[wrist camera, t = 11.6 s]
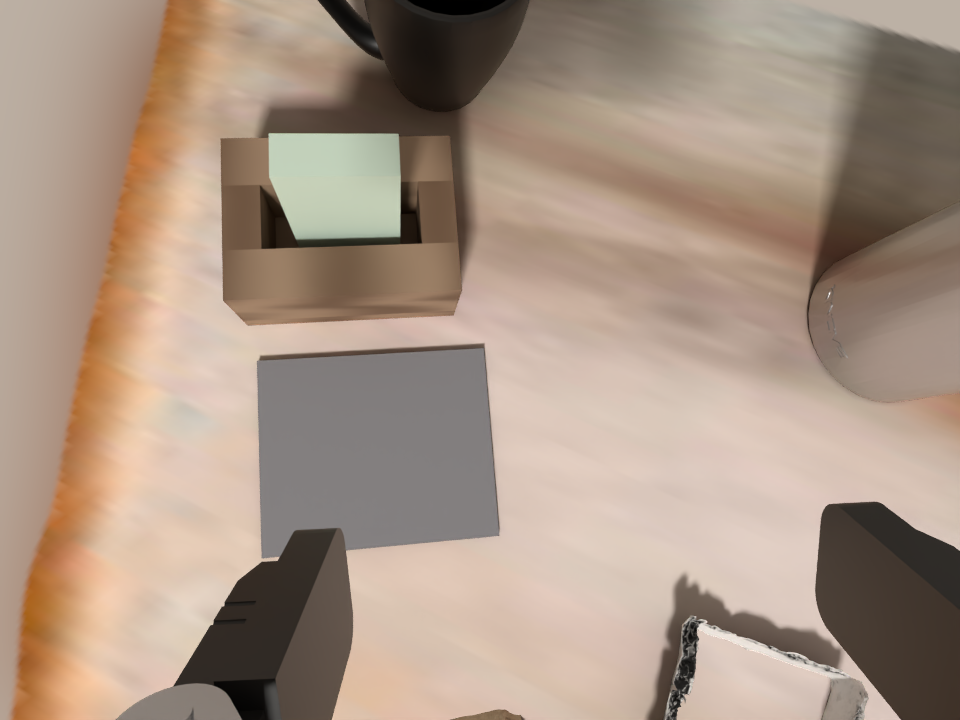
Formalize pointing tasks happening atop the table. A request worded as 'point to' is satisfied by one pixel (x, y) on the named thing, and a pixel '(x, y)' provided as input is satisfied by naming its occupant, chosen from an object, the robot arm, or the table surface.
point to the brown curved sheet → (492, 716)
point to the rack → (344, 269)
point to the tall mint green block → (338, 187)
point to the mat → (376, 448)
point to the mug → (435, 43)
